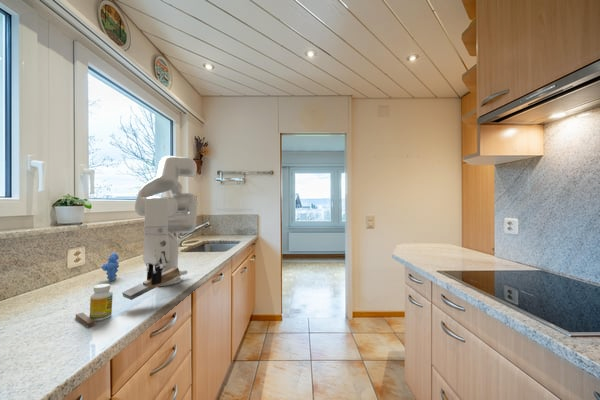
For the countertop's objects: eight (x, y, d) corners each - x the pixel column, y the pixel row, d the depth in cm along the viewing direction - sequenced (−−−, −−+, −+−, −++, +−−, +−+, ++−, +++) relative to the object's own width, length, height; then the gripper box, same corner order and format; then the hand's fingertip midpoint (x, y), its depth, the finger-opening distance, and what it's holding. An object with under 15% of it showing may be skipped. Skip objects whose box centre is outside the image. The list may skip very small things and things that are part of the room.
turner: (174, 273, 100) (172, 266, 100) (182, 275, 97) (180, 268, 97) (123, 298, 86) (121, 290, 85) (131, 302, 83) (129, 293, 82)
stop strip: (82, 316, 78) (82, 312, 78) (95, 325, 73) (95, 321, 73) (75, 318, 77) (75, 314, 77) (88, 327, 71) (88, 323, 71)
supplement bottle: (92, 315, 79) (93, 284, 80) (113, 312, 82) (114, 282, 82) (86, 322, 74) (88, 289, 75) (109, 319, 77) (110, 287, 77)
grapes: (103, 277, 120) (104, 251, 121) (120, 276, 123) (121, 251, 124) (97, 284, 110) (98, 256, 110) (116, 282, 113) (117, 255, 113)
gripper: (179, 232, 91) (177, 284, 90) (155, 229, 99) (153, 277, 99) (157, 233, 84) (155, 290, 84) (134, 230, 93) (131, 281, 92)
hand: (154, 282), depth 91 cm, fingers closed on turner, 2 cm apart
